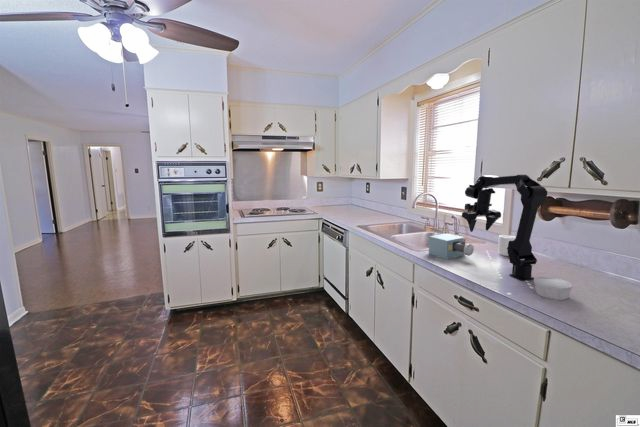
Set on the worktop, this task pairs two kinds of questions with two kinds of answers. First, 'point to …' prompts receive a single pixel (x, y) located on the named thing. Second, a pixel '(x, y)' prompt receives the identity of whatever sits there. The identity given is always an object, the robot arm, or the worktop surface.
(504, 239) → the white cup
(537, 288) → the ramekin
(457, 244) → the plug
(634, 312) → the worktop surface
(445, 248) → the socket block
